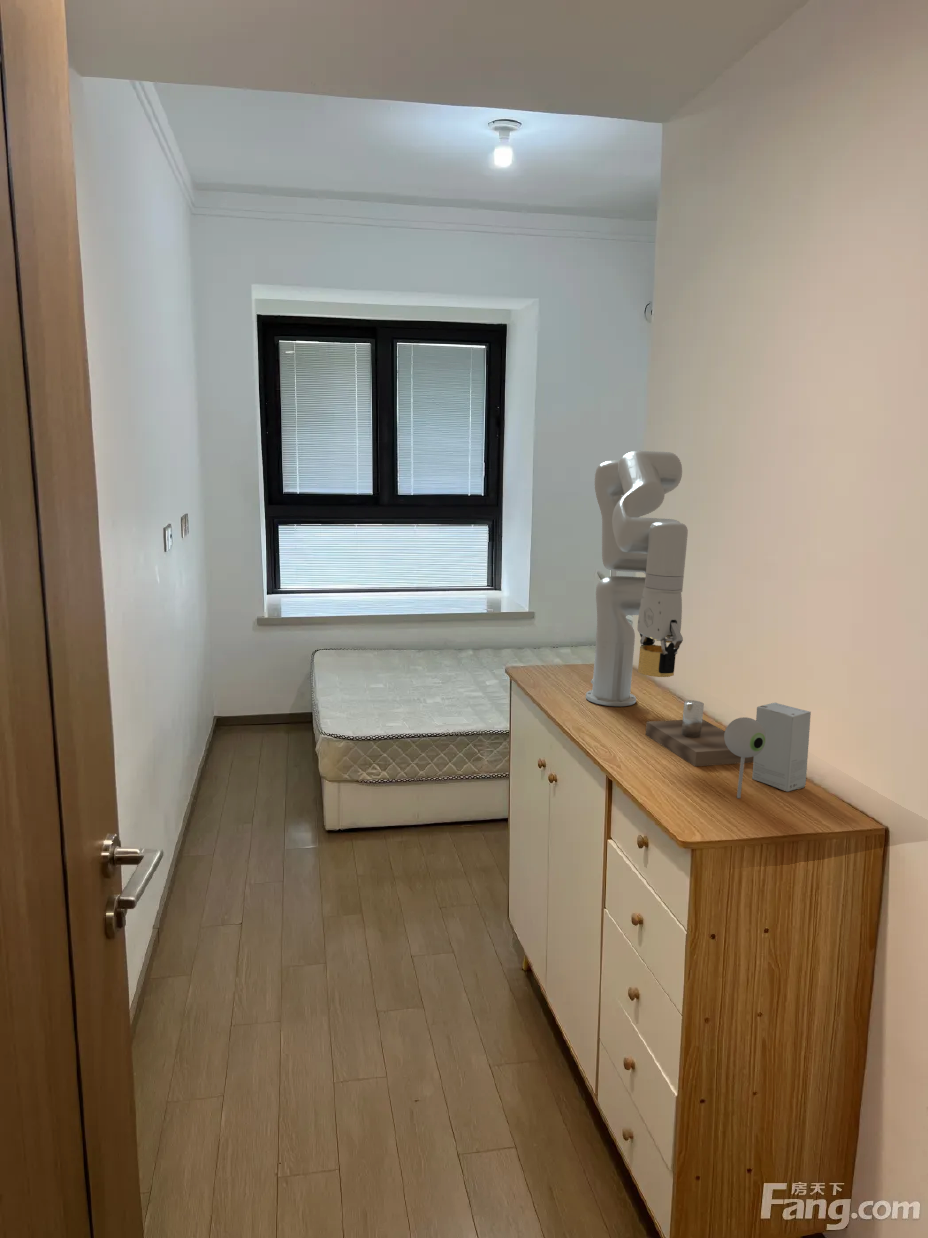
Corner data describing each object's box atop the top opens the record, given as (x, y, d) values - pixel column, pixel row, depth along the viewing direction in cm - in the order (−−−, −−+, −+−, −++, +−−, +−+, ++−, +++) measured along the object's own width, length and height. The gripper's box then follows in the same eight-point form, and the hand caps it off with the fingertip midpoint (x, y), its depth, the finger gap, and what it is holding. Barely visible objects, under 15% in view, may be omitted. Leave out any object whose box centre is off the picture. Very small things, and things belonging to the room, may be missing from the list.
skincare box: (805, 787, 158) (815, 712, 156) (785, 793, 155) (795, 716, 152) (768, 773, 165) (776, 700, 163) (748, 778, 162) (756, 704, 159)
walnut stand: (645, 734, 186) (646, 721, 186) (700, 731, 190) (701, 718, 190) (694, 766, 167) (696, 752, 167) (754, 762, 171) (756, 748, 171)
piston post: (677, 732, 179) (680, 700, 178) (694, 731, 180) (697, 700, 179) (687, 738, 175) (690, 706, 174) (704, 737, 176) (707, 705, 175)
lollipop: (736, 807, 147) (745, 725, 145) (709, 792, 154) (717, 714, 151) (767, 802, 150) (777, 722, 148) (740, 788, 157) (748, 711, 154)
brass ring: (631, 668, 176) (633, 645, 175) (662, 667, 178) (664, 644, 177) (648, 677, 169) (650, 653, 168) (680, 676, 171) (682, 652, 170)
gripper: (627, 577, 177) (620, 658, 180) (669, 589, 161) (661, 679, 164) (659, 577, 179) (652, 657, 183) (703, 589, 163) (695, 678, 166)
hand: (656, 667), depth 173 cm, fingers closed on brass ring, 7 cm apart
